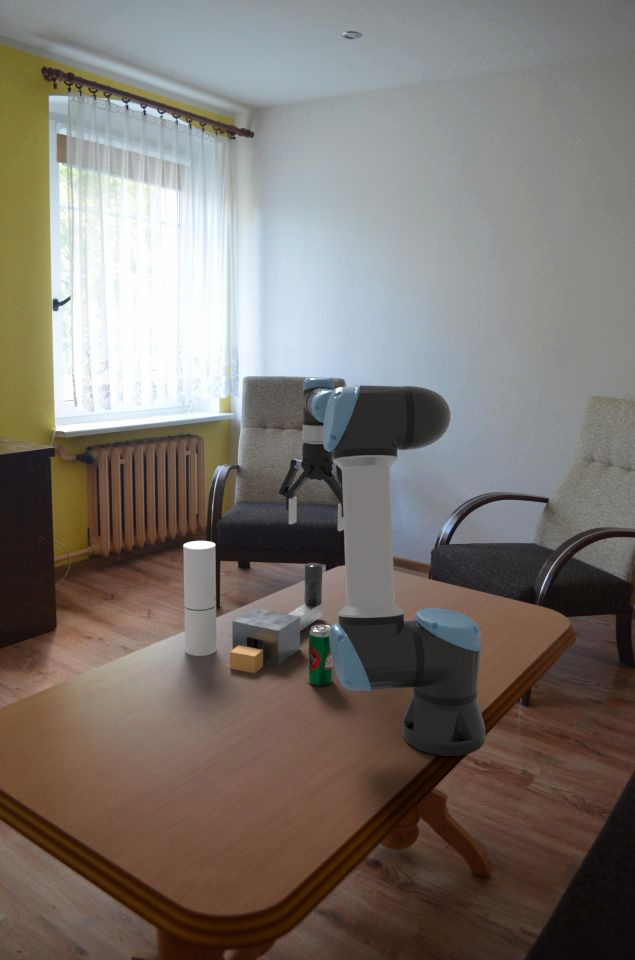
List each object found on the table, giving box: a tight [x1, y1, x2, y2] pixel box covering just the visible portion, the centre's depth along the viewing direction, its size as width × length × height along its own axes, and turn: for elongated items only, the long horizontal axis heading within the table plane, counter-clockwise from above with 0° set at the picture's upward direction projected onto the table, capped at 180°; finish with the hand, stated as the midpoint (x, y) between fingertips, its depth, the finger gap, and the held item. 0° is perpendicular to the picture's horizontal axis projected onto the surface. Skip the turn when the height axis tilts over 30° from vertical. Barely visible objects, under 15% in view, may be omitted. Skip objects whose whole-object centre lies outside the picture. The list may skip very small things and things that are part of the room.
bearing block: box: [231, 607, 301, 666], centre depth 183 cm, size 10×12×8 cm
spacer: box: [229, 645, 264, 674], centre depth 175 cm, size 4×6×4 cm
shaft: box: [257, 562, 324, 649], centre depth 192 cm, size 26×4×14 cm, turn 153°
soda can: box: [307, 624, 334, 687], centre depth 167 cm, size 5×5×12 cm
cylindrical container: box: [182, 540, 217, 657], centre depth 182 cm, size 7×7×25 cm
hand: (316, 526), depth 198 cm, fingers open, 13 cm apart
